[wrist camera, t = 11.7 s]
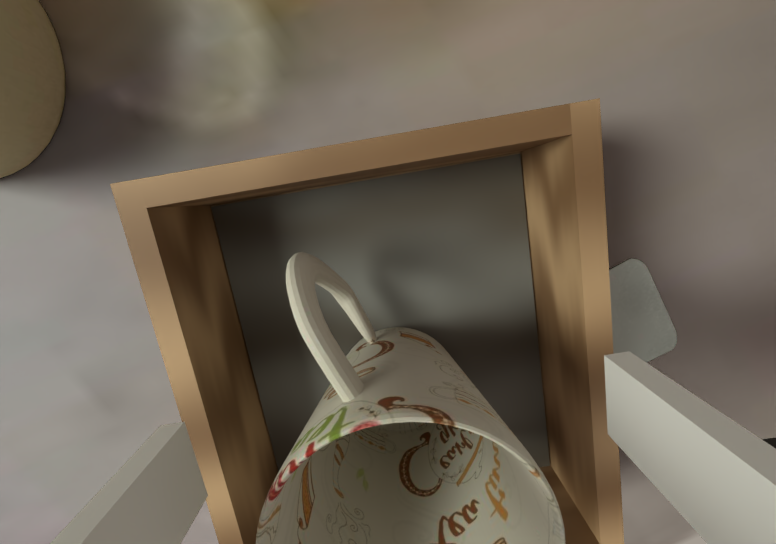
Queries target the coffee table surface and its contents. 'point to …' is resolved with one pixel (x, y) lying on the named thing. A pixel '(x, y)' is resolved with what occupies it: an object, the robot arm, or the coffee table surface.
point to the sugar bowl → (28, 83)
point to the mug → (399, 444)
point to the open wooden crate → (391, 292)
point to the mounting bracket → (639, 313)
